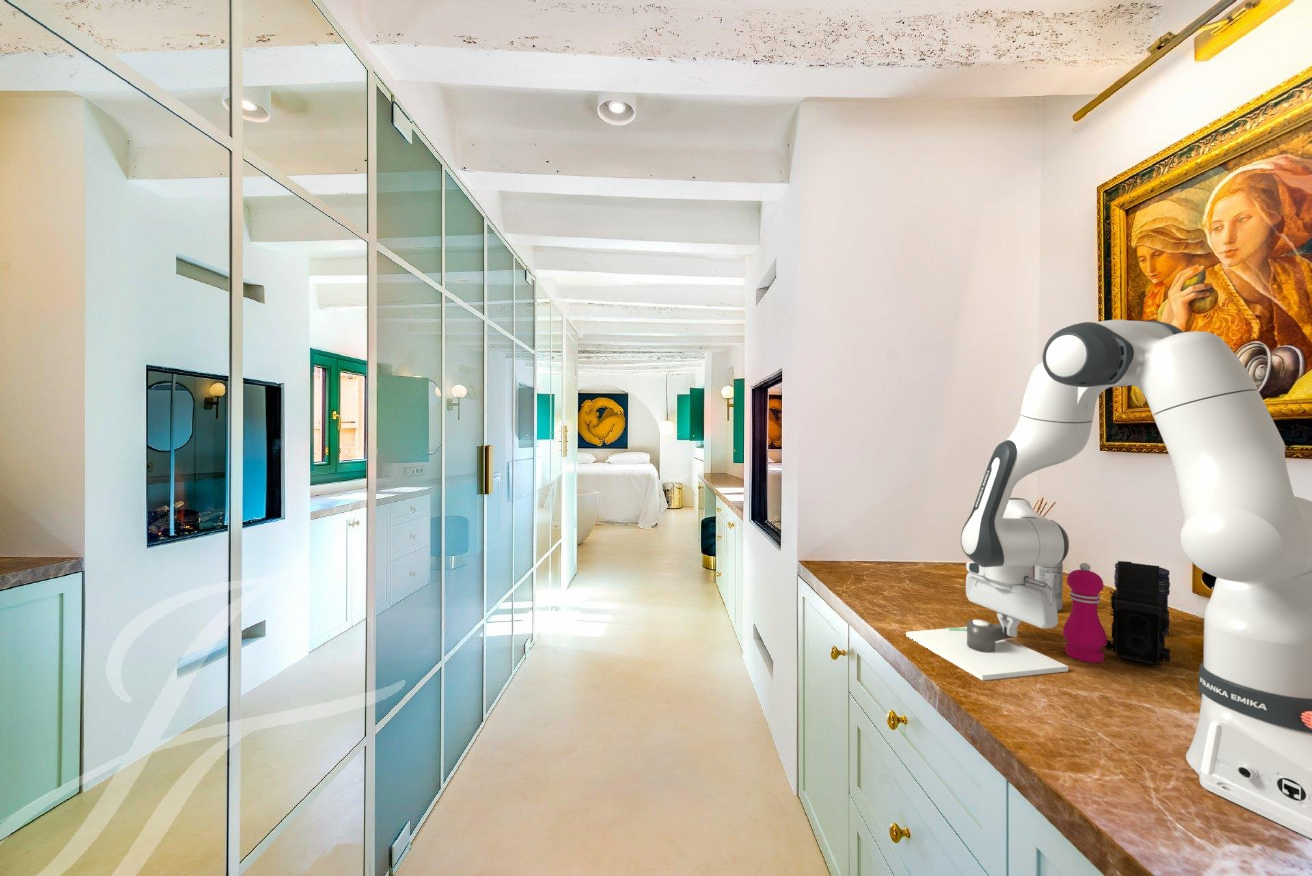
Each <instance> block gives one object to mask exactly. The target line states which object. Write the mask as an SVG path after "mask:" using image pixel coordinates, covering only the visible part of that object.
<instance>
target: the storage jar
mask: <svg viewBox="0 0 1312 876" xmlns="http://www.w3.org/2000/svg"><path fill="white" fill-rule="evenodd" d="M1143 564H1144V563H1143ZM1144 565H1146V564H1144ZM1114 568H1115V569H1114V574H1113V575H1114V582H1113V584H1114V587H1115V590H1116V591H1117V575H1118V562H1116V563H1115V564H1114ZM1170 588H1171V582H1170V570H1169V569H1167V568H1164V567H1161V566H1159V597H1162V600H1163V599H1164V600H1165V599H1166V600H1167V602H1165V605H1166V608H1165V607H1164V606H1165V605H1163V609H1167V614H1166V615H1165V614H1163V615H1164V616H1165V619H1168V620H1169V625H1170V620H1171V619H1170V611H1169V608H1168V607H1169V602H1168V600H1169V597H1168V596H1169V595H1170V592H1171V591H1170ZM1163 633H1164V636H1165V637H1168V636H1169V635H1170V633H1169V629H1168V628H1165V631H1163Z"/></svg>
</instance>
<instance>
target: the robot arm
mask: <svg viewBox="0 0 1312 876" xmlns="http://www.w3.org/2000/svg"><path fill="white" fill-rule="evenodd" d="M1131 386H1134V387H1136V388H1137V389H1139V390H1140V392H1141V393H1142V394H1143V396H1144V397H1145V399H1146V402H1147V404H1148V407H1149V409H1150V411H1151V414H1152V417H1153V418H1154V419H1153V420H1154V422H1155V424H1156V426H1157V429H1158V431H1159V433H1160V436H1161V438H1162V441H1163V443H1164V446H1165V447H1166V450H1167V453H1168V456H1169V457H1170V460H1171V463H1172V466H1173V470H1174V474H1175V479H1176V484H1177V492H1178V498H1179V504H1180V505H1179V506H1180V510H1181V516H1182V526H1181V530H1180V536H1179V537H1180V538H1179V540H1180V544H1181V548H1182V550H1183V552H1184V554H1185V556H1186V558H1188V559H1189V560H1190V562H1191V563H1192V564H1193V565H1195V566H1196V567H1197V568H1198V569H1200V570H1201V571H1203V572H1205V573H1207V574H1209V575H1211V576H1212V577H1215V578H1216V579H1215V582H1214V586H1213V588H1212V593H1211V596H1210V598H1209V600H1208V602H1207V604H1206V606H1205V608H1204V612H1203V661H1202V662H1200V664H1199V666H1198V668H1199V669H1198V687H1197V688H1198V693H1199V697H1200V700H1201V701H1200V702H1201V703H1200V709H1199V716H1198V720H1197V726H1196V729H1195V733H1194V736H1193V739H1192V742H1191V744H1190V746H1189V748H1188V750H1187V752H1185V753H1186V754H1185V758H1186V761H1187V763H1188V765H1189V766H1190V767H1191V768H1192V769H1193V770H1194V771H1195V773H1197V775H1198V779H1199V784H1200V785H1201V787H1202V788H1204V789H1205V790H1207V791H1209V792H1211V793H1213V794H1215V795H1218V796H1219V797H1222V798H1224V799H1226V800H1228V801H1230V802H1232V803H1235V804H1236V805H1239V806H1240V807H1243V808H1245V809H1247V810H1249V811H1251V812H1254V813H1255V814H1258V815H1260V816H1262V817H1264V818H1267V819H1268V820H1270V821H1272V822H1275V823H1277V824H1279V825H1281V826H1284V827H1285V828H1287V829H1290V830H1291V831H1294V832H1297V833H1298V834H1300V835H1301V836H1305V837H1306V838H1309V839H1311V840H1312V501H1311V500H1309V499H1306V498H1303V497H1298V496H1295V495H1294V490H1293V488H1292V487H1293V486H1292V483H1291V479H1290V476H1289V475H1290V474H1289V471H1288V467H1287V466H1288V465H1287V462H1286V446H1285V442H1284V440H1283V438H1282V436H1281V434H1280V432H1279V429H1278V428H1277V426H1276V424H1275V422H1274V419H1273V417H1272V416H1271V413H1270V412H1269V410H1268V407H1267V405H1266V404H1265V401H1264V399H1263V397H1262V395H1261V393H1260V391H1259V389H1258V387H1257V385H1256V383H1255V382H1254V380H1253V378H1252V377H1251V375H1250V373H1249V371H1248V370H1247V368H1246V367H1245V365H1244V364H1243V363H1242V361H1241V360H1240V358H1239V357H1238V356H1237V355H1236V353H1235V352H1234V351H1233V350H1232V349H1231V347H1230V346H1229V345H1228V344H1227V343H1226V341H1224V339H1223V338H1222V337H1220V336H1218V335H1217V334H1214V333H1212V332H1209V331H1197V330H1196V331H1195V330H1194V331H1183V330H1182V329H1180V328H1179V327H1178V326H1176V325H1173V324H1171V323H1168V322H1163V321H1159V320H1143V321H1142V320H1127V319H1109V320H1101V321H1099V320H1098V321H1093V322H1091V321H1089V322H1088V321H1085V322H1080V323H1075V324H1072V325H1068V326H1066V327H1064V328H1061V329H1060V330H1058V331H1056V332H1054V333H1053V334H1052V336H1050V337H1049V339H1048V340H1047V342H1046V343H1045V346H1044V348H1043V352H1042V361H1041V362H1039V363H1038V364H1037V365H1036V366H1035V367H1034V368H1033V370H1032V372H1031V374H1030V377H1029V379H1028V382H1027V385H1026V388H1025V391H1024V394H1023V398H1022V402H1021V406H1020V410H1019V411H1020V412H1019V417H1018V421H1017V423H1016V426H1015V427H1014V429H1013V431H1012V432H1011V433H1010V435H1009V436H1008V438H1007V439H1005V440H1004V441H1002V442H1001V443H999V444H998V445H997V446H996V447H995V448H994V450H993V453H992V455H991V457H990V459H989V462H988V465H987V467H986V470H985V473H984V475H983V478H982V482H981V483H980V487H979V490H978V493H977V496H976V498H975V502H974V505H973V507H972V510H971V512H970V514H969V517H968V518H967V520H966V521H965V523H964V525H963V527H962V530H961V534H960V545H961V549H962V552H964V554H965V555H966V557H967V558H969V559H970V560H971V561H967V562H966V565H965V568H966V571H967V572H968V573H966V578H965V595H966V598H967V599H968V601H969V602H970V603H974V604H976V605H979V606H980V607H985V608H987V609H989V610H992V611H995V612H996V617H997V619H998V621H999V623H1001V625H1002V633H1003V634H1006V635H1008V636H1010V637H1011V636H1015V635H1016V628H1017V629H1018V626H1019V625H1020V624H1021V622H1024V623H1026V624H1028V625H1031V626H1034V627H1036V628H1040V629H1053V628H1056V627H1057V626H1058V624H1059V616H1058V612H1057V606H1056V601H1055V597H1054V591H1053V589H1052V588H1051V587H1050V586H1049V585H1048V584H1047V583H1046V582H1044V581H1039V580H1036V579H1035V577H1034V567H1035V566H1053V565H1058V564H1060V563H1061V562H1062V561H1064V560H1065V559H1066V557H1067V555H1068V553H1069V550H1070V539H1069V537H1068V533H1067V532H1066V530H1065V529H1064V527H1062V526H1061V525H1060V524H1059V523H1058V522H1056V521H1055V520H1053V519H1049V518H1046V517H1044V516H1042V515H1041V514H1040V513H1038V512H1037V511H1035V510H1034V508H1033V506H1032V505H1031V503H1030V501H1029V500H1028V499H1025V498H1021V497H1011V495H1012V493H1013V490H1014V488H1015V486H1016V485H1017V484H1018V482H1020V481H1021V480H1022V479H1024V478H1025V477H1026V476H1028V475H1029V474H1030V475H1031V474H1032V473H1035V472H1037V471H1040V470H1043V469H1046V468H1049V467H1053V466H1056V465H1059V464H1062V463H1064V462H1067V461H1069V460H1071V459H1072V458H1074V457H1076V456H1077V455H1078V454H1080V453H1082V451H1083V450H1084V449H1085V448H1086V445H1087V444H1088V441H1089V439H1090V435H1091V432H1092V426H1093V421H1094V417H1095V409H1096V405H1097V404H1096V403H1097V401H1098V399H1099V397H1100V395H1101V394H1102V392H1104V391H1105V390H1107V389H1109V388H1126V387H1131ZM1047 587H1048V588H1047Z"/></svg>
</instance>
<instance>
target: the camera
mask: <svg viewBox="0 0 1312 876" xmlns="http://www.w3.org/2000/svg"><path fill="white" fill-rule="evenodd" d="M1117 563H1118V575H1117V591H1116V589H1114V590H1113V591H1112V590H1110V591H1109V594H1111V596H1110V599H1109V602H1110V614H1109V615H1110V616H1112V623H1111V638H1112V641H1111V640H1110V639H1109V640H1108V639H1107V644H1106V645H1105V648H1106V650H1110V651H1111V650H1112V652H1113V653H1115V654H1117V657H1118V658H1122V659H1126V660H1131V661H1136V662H1140V663H1145V664H1148V665H1154V666H1157V665H1158V663H1164V662H1166V663H1170V662H1171V650H1170V648H1165V645H1166V644H1165V641H1166V640H1165V637H1166V636H1164V633H1163V631H1165V628H1168V630H1169V629H1170V624H1169V623H1170V622H1169V620H1168V619H1165V616H1164V615H1163V614H1165V615H1166V614H1167V609H1163V605H1165V602H1167V600H1166V599H1165V600H1164V599H1163V600H1162V597H1159V567H1160V565H1155V564H1154V565H1153V564H1145V565H1144V563H1135V562H1132V561H1126V560H1125V561H1123V560H1117ZM1164 607H1165V608H1166V605H1165V606H1164Z"/></svg>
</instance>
